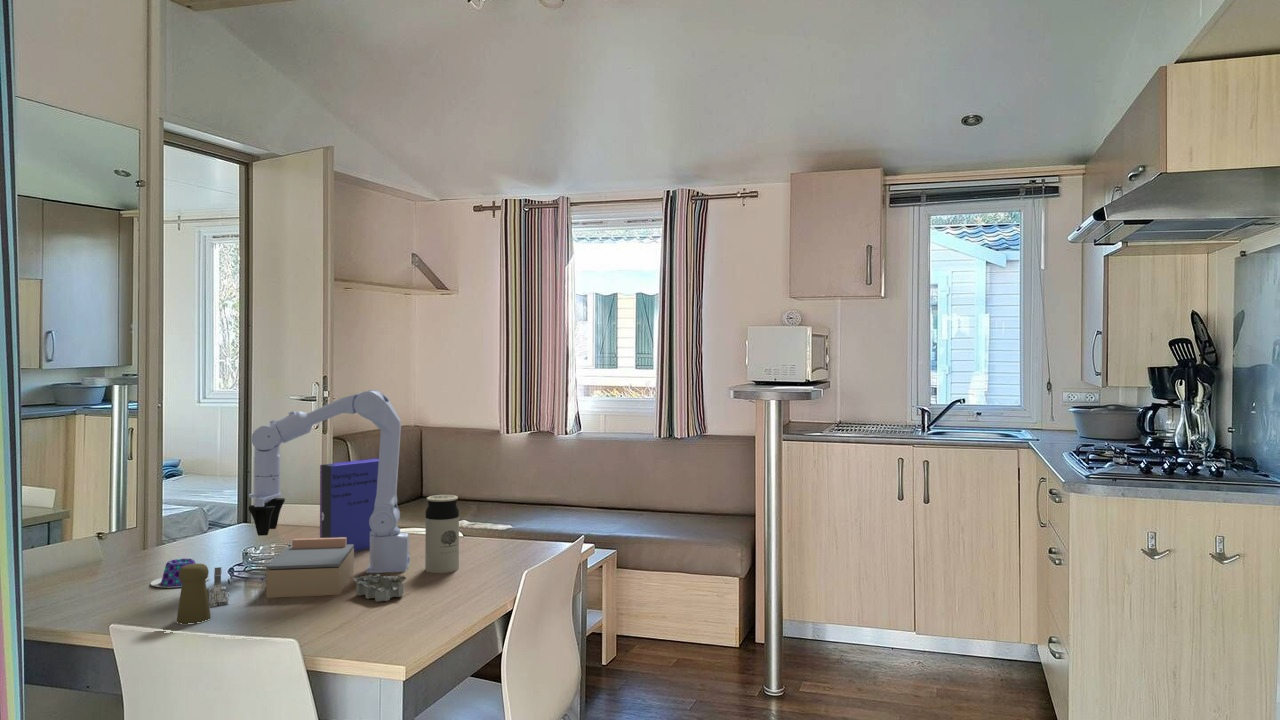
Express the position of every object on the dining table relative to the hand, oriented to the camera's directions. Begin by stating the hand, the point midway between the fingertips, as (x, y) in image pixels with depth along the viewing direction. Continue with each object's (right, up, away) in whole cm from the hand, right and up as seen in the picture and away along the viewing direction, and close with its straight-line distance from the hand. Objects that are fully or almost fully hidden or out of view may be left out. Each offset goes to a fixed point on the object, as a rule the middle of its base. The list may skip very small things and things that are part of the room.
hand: (267, 532), depth 205 cm
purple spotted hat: (-17, -10, -8) cm, 21 cm away
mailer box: (+15, -10, -10) cm, 20 cm away
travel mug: (+41, -10, +4) cm, 43 cm away
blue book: (+12, -10, +25) cm, 30 cm away
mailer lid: (+15, -4, -10) cm, 18 cm away
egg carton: (+34, -11, -18) cm, 40 cm away
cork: (+1, -10, -36) cm, 38 cm away
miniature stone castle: (-3, -11, -24) cm, 26 cm away
